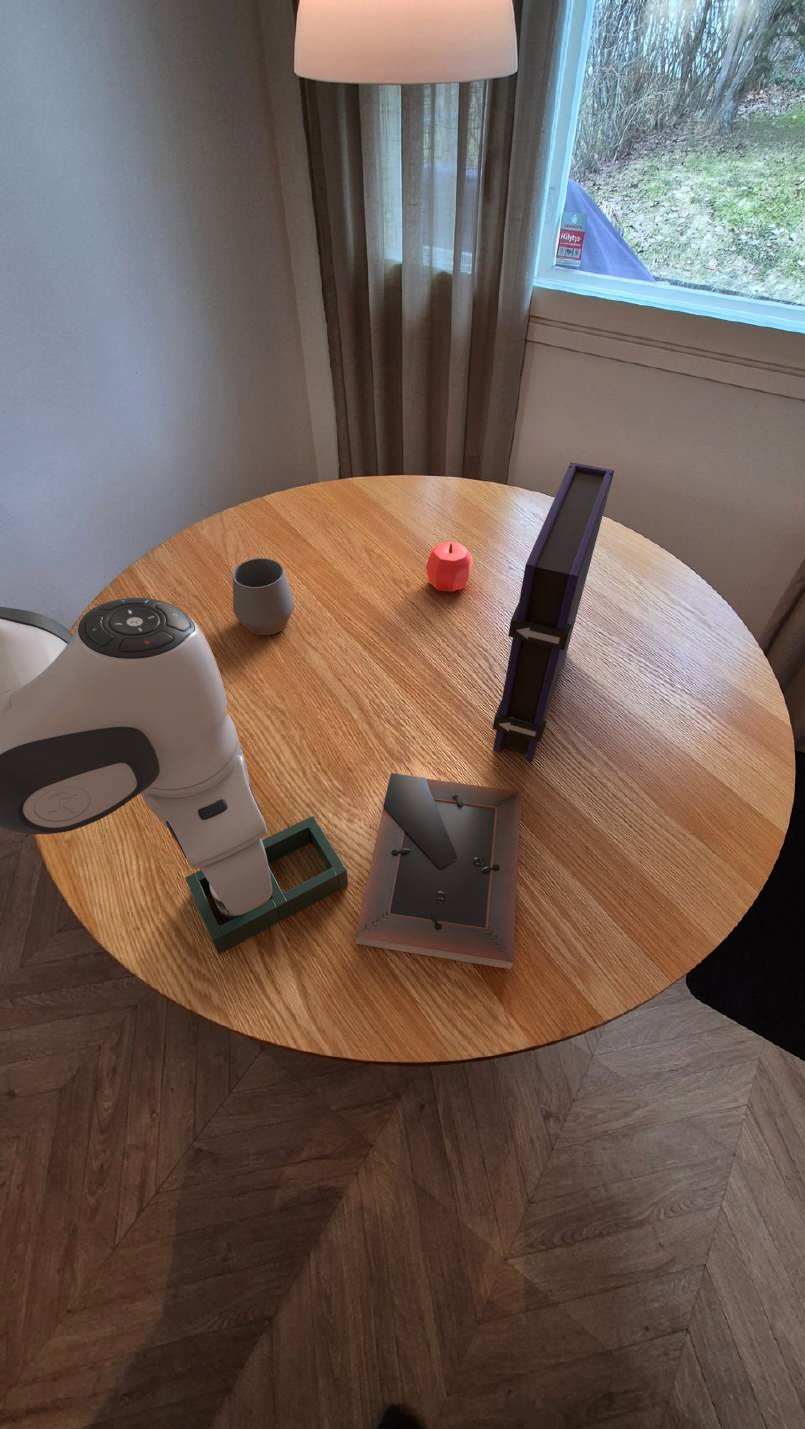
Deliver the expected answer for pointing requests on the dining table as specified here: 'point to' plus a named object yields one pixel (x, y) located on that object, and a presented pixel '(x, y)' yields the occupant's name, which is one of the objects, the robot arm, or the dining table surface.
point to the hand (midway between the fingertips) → (223, 851)
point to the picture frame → (444, 872)
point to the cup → (262, 596)
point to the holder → (275, 887)
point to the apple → (449, 566)
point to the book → (549, 606)
